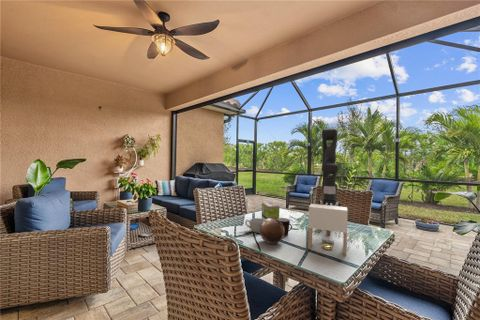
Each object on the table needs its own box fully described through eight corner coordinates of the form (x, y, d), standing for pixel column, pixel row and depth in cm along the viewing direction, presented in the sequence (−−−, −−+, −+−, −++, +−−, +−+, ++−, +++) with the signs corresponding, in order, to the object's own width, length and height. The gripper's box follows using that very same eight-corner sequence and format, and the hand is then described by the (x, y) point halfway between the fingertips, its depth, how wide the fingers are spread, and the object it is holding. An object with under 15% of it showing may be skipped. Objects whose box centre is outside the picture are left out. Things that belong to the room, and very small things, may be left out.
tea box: (261, 219, 190) (261, 202, 190) (272, 219, 192) (272, 201, 192) (267, 225, 175) (267, 205, 175) (279, 224, 178) (280, 205, 177)
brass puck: (327, 246, 136) (327, 243, 136) (334, 249, 130) (334, 247, 130) (319, 246, 134) (319, 244, 134) (326, 251, 128) (326, 248, 128)
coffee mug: (275, 232, 158) (275, 217, 158) (287, 232, 159) (287, 217, 159) (279, 238, 147) (280, 222, 147) (292, 238, 147) (293, 222, 147)
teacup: (266, 230, 163) (266, 219, 162) (263, 234, 152) (263, 223, 152) (247, 227, 167) (248, 217, 167) (243, 232, 157) (243, 220, 157)
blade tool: (323, 232, 160) (323, 224, 160) (334, 234, 157) (334, 225, 157) (321, 242, 140) (321, 233, 140) (333, 244, 137) (333, 234, 137)
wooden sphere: (254, 241, 140) (254, 217, 140) (271, 236, 149) (272, 214, 149) (271, 249, 128) (272, 223, 128) (289, 244, 137) (290, 219, 137)
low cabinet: (309, 242, 140) (310, 203, 140) (345, 248, 132) (346, 207, 132) (307, 248, 131) (309, 206, 130) (346, 255, 123) (347, 210, 123)
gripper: (317, 192, 154) (317, 216, 154) (340, 194, 149) (340, 219, 149) (318, 191, 161) (318, 214, 161) (340, 192, 156) (340, 216, 156)
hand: (328, 216), depth 155 cm, fingers open, 8 cm apart
